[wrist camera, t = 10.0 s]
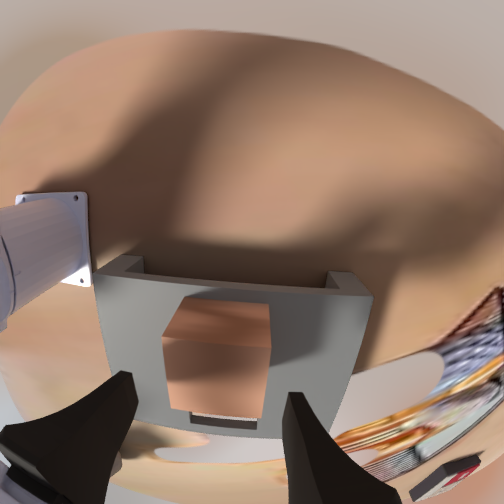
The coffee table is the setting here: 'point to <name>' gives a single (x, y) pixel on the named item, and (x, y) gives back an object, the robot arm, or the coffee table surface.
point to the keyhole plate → (282, 341)
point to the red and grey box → (444, 478)
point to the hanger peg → (218, 357)
